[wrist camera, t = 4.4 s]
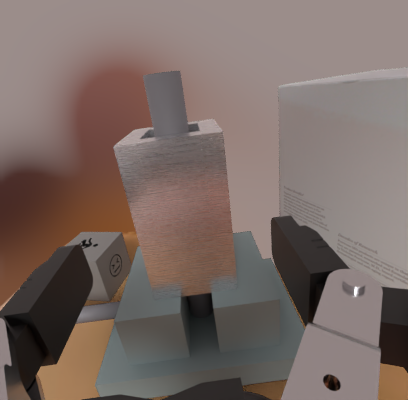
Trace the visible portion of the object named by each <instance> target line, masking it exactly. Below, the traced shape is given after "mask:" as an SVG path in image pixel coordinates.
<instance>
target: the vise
mask: <svg viewBox="0 0 408 400" xmlns="http://www.w3.org/2000/svg"><path fill="white" fill-rule="evenodd" d="M143 79H144V84H145V88H146V94H147V99H148V103H149V109H150V114H151V119H152V124H153V129H154V134H155V137H160V136H167V135H175V134H182V133H189V128H188V121H187V115H186V108H185V101H184V95H183V88H182V81H181V74H180V71H171V72H162V73H155V74H149V75H144V76H143ZM233 243H234V254H235V265H236V275H237V286H238V289H234V290H227V291H219V292H212V293H205V294H198V295H190V296H183V297H176V298H168V299H161V300H154V296H153V292H152V289H151V285H150V281H149V278H148V274H147V270H146V266H145V263H144V259H143V255H142V252H141V248H140V246H138V248H137V251H136V254H135V257H134V260H133V263H132V267H131V270H130V273H129V276H128V279H127V282H126V285H125V289H124V292H123V295H122V298H121V301H118V302H111V303H104V304H97V305H89V306H84V307H83V309H82V311H81V313H80V315H79V317H78V319H77V322H76V324H78V323H85V322H93V321H100V320H107V319H115V320H114V326H113V329H112V333H111V336H110V339H109V342H108V345H107V349H106V352H105V355H104V358H103V361H102V365H101V368H100V371H99V374H98V377H97V380H96V384H95V387H96V389H97V391H98V393H99V395H100V397H104V396H111V395H118V394H122V395H128V396H134V397H140V398H154V397H161V396H168V395H174V394H176V393H179V392H181V391H183V390H186V389H188V388H190V387H193V386H195V385H197V384H200V383H203V382H210V381H217V380H225V379H232V378H239V377H241V382H242V385H249V384H257V383H264V382H271V381H279V380H286V379H288V377H289V374H290V372H291V369H292V366H293V363H294V360H295V357H296V354H297V352H298V349H299V346H300V343H301V340H302V337H303V334H304V332H305V329H304V327H303V325H302V323H301V320H300V318H299V316H298V314H297V312H296V310H295V308H294V306H293V304H292V302H291V300H290V297H289V295H288V293H287V291H286V289H285V287H284V285H283V283H282V281H281V279H280V276H279V274H278V272H277V270H276V268H275V266H274V264H273V262H272V260H271V258H269V259H262V257H261V254H260V252H259V250H258V247H257V245H256V243H255V240H254V238H253V236H252V233H251V231H247V232H240V233H233Z"/></svg>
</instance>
